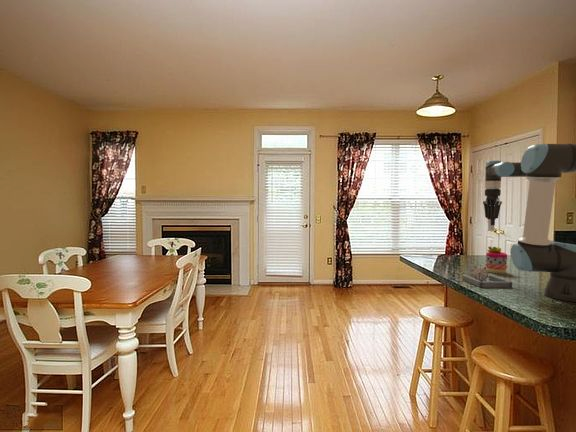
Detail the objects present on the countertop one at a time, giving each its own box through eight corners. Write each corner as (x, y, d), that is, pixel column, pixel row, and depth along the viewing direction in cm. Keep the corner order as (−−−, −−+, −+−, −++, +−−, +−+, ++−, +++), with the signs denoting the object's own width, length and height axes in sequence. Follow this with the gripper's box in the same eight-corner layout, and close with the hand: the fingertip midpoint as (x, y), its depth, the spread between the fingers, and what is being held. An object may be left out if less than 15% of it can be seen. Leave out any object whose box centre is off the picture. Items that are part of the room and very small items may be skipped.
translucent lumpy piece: (484, 289, 166) (496, 276, 160) (467, 282, 166) (479, 269, 160) (480, 277, 173) (492, 264, 167) (464, 271, 173) (476, 258, 168)
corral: (512, 287, 155) (512, 282, 155) (480, 287, 155) (480, 282, 155) (491, 279, 171) (491, 275, 170) (462, 279, 170) (462, 274, 170)
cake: (489, 269, 198) (490, 244, 198) (509, 272, 190) (510, 246, 190) (482, 271, 192) (483, 245, 191) (503, 274, 184) (504, 248, 183)
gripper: (507, 188, 176) (505, 232, 177) (491, 189, 189) (489, 229, 190) (493, 188, 176) (492, 231, 177) (478, 189, 189) (477, 229, 190)
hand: (490, 230), depth 184 cm, fingers closed
